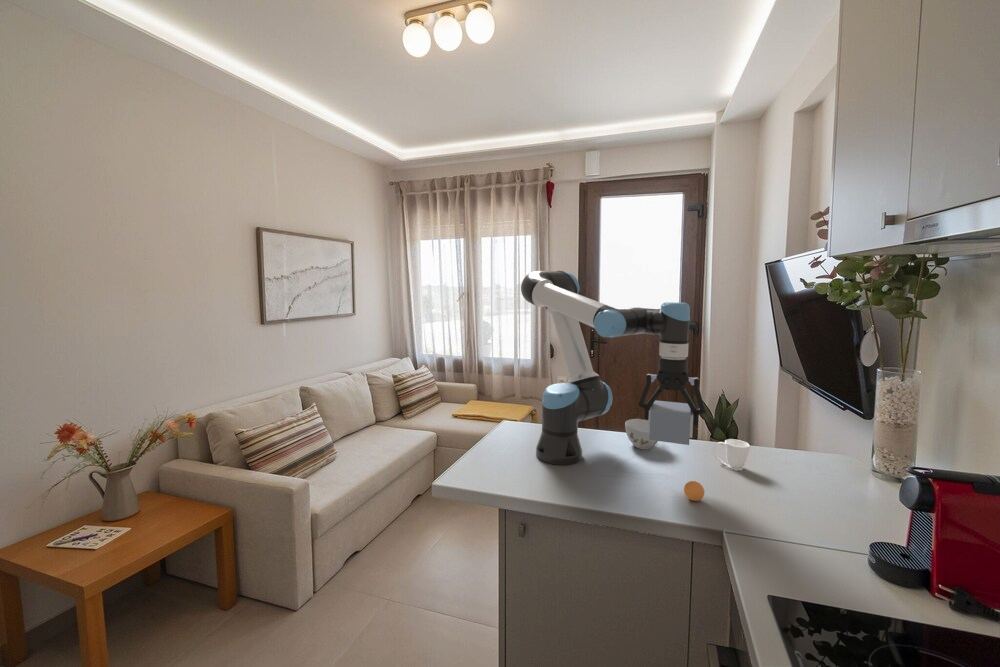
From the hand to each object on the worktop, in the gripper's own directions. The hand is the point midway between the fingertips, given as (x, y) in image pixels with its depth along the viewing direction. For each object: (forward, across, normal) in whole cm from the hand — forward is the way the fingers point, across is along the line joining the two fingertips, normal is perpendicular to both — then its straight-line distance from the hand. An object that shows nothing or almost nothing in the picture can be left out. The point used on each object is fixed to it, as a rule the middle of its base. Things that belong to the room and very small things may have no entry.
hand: (669, 433), depth 122 cm
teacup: (+14, -9, +25) cm, 30 cm away
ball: (+12, +7, -8) cm, 16 cm away
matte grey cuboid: (+1, 0, 0) cm, 1 cm away
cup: (+15, +17, +19) cm, 30 cm away
